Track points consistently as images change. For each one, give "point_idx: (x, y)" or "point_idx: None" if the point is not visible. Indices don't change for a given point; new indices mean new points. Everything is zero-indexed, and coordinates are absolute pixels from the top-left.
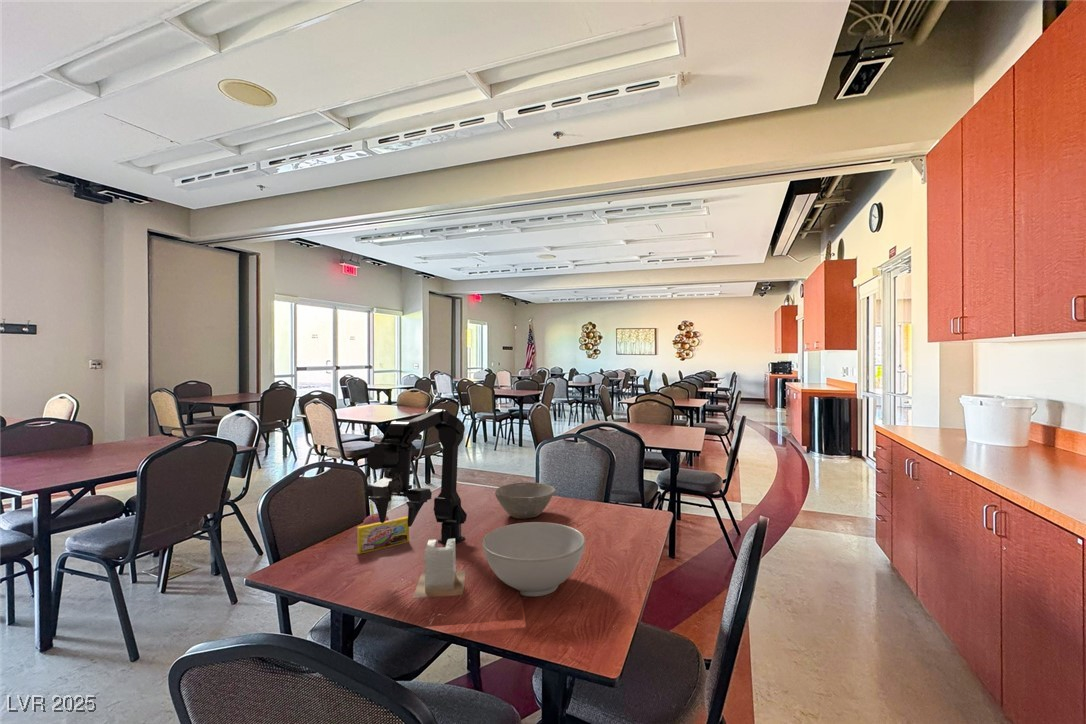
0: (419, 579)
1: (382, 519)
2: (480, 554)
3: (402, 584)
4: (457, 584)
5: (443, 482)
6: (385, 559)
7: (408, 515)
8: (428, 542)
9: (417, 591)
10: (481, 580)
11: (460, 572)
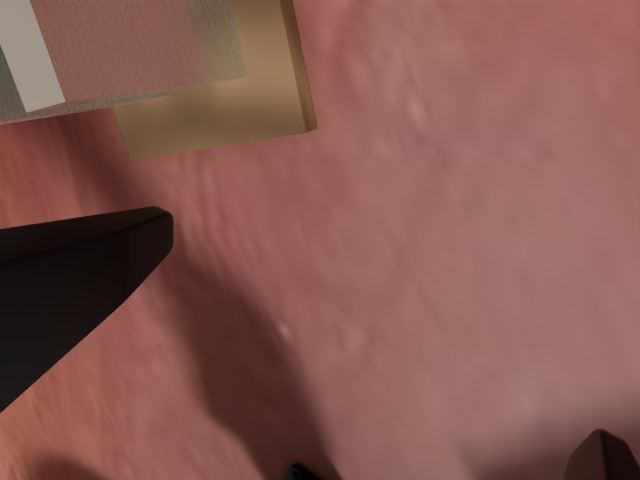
0: (287, 47)
1: (592, 478)
2: (168, 345)
3: (392, 35)
4: None
5: None
6: (617, 397)
7: (21, 254)
8: (35, 33)
9: None
10: None
11: (140, 138)
